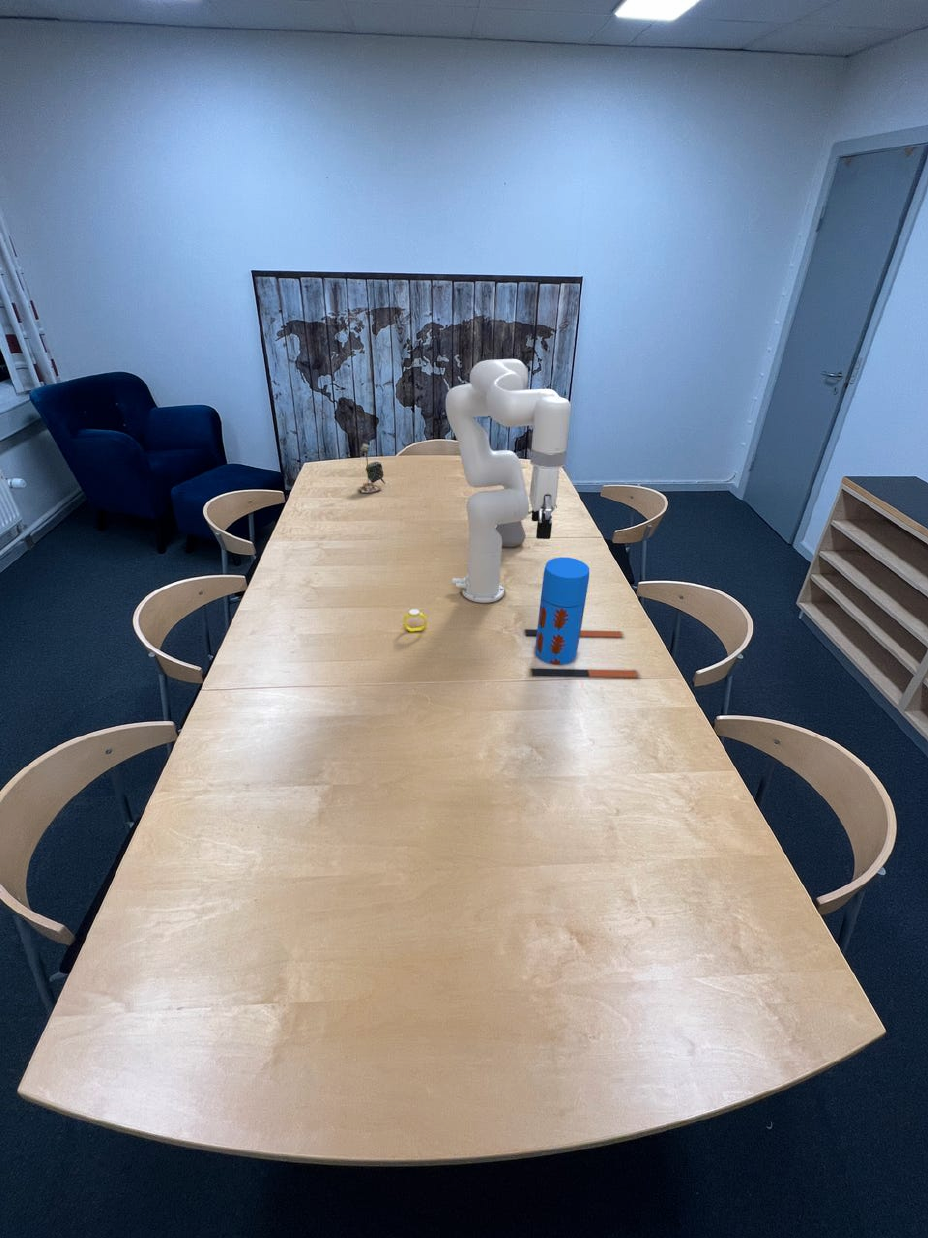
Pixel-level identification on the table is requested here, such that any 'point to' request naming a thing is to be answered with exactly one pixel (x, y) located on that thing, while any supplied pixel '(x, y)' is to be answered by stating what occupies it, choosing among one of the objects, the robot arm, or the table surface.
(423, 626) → the gold ring
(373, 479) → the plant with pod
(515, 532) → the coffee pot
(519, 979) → the table surface
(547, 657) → the thermos
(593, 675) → the lane
